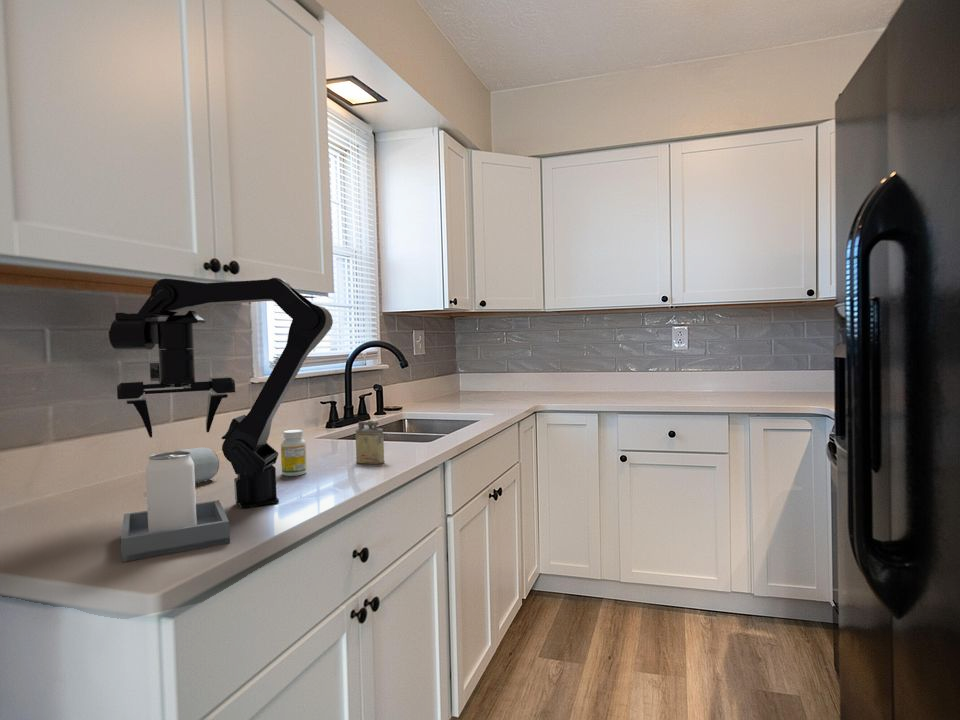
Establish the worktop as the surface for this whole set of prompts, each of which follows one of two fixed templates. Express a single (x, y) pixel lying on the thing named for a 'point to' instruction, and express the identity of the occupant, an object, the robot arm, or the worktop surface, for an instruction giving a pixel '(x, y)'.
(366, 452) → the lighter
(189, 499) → the can
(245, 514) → the worktop surface
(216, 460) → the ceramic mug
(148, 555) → the tray
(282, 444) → the supplement bottle
